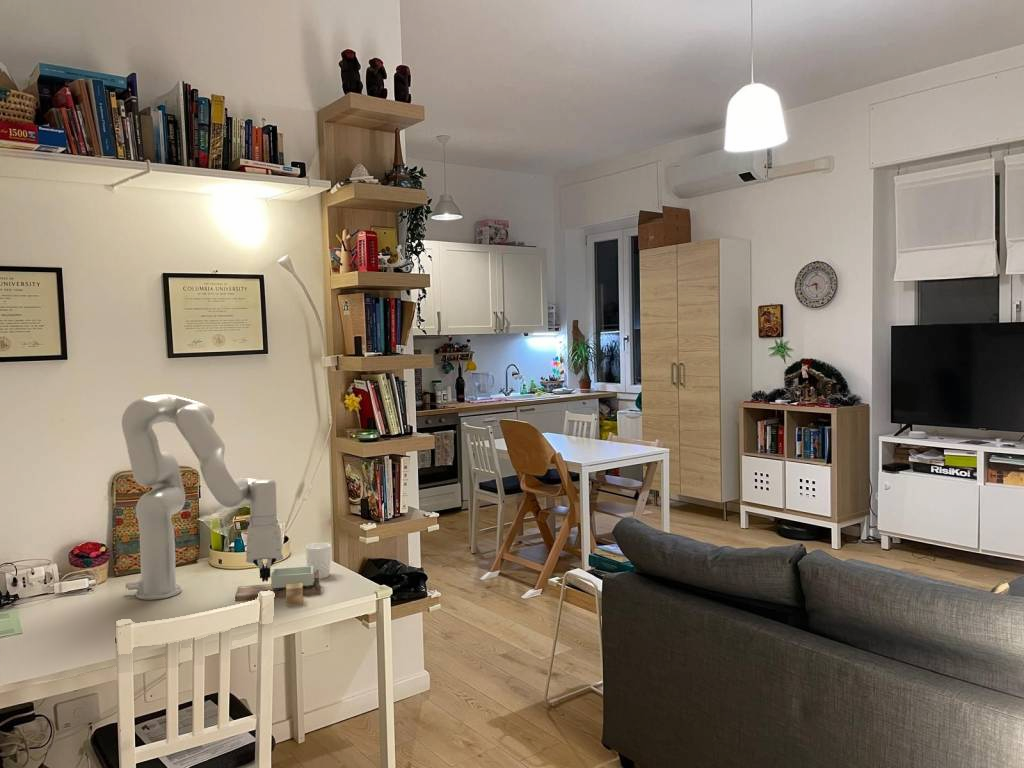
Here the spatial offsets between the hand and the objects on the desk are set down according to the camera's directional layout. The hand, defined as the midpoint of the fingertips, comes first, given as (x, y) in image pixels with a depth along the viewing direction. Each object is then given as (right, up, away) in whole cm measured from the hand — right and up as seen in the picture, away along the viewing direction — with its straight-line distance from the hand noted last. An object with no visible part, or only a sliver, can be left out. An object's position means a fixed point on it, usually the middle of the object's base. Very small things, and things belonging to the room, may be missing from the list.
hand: (265, 580), depth 233 cm
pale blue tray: (+8, -3, +2) cm, 8 cm away
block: (+11, -5, -8) cm, 15 cm away
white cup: (+12, -3, +18) cm, 22 cm away
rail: (+4, -4, +1) cm, 6 cm away
